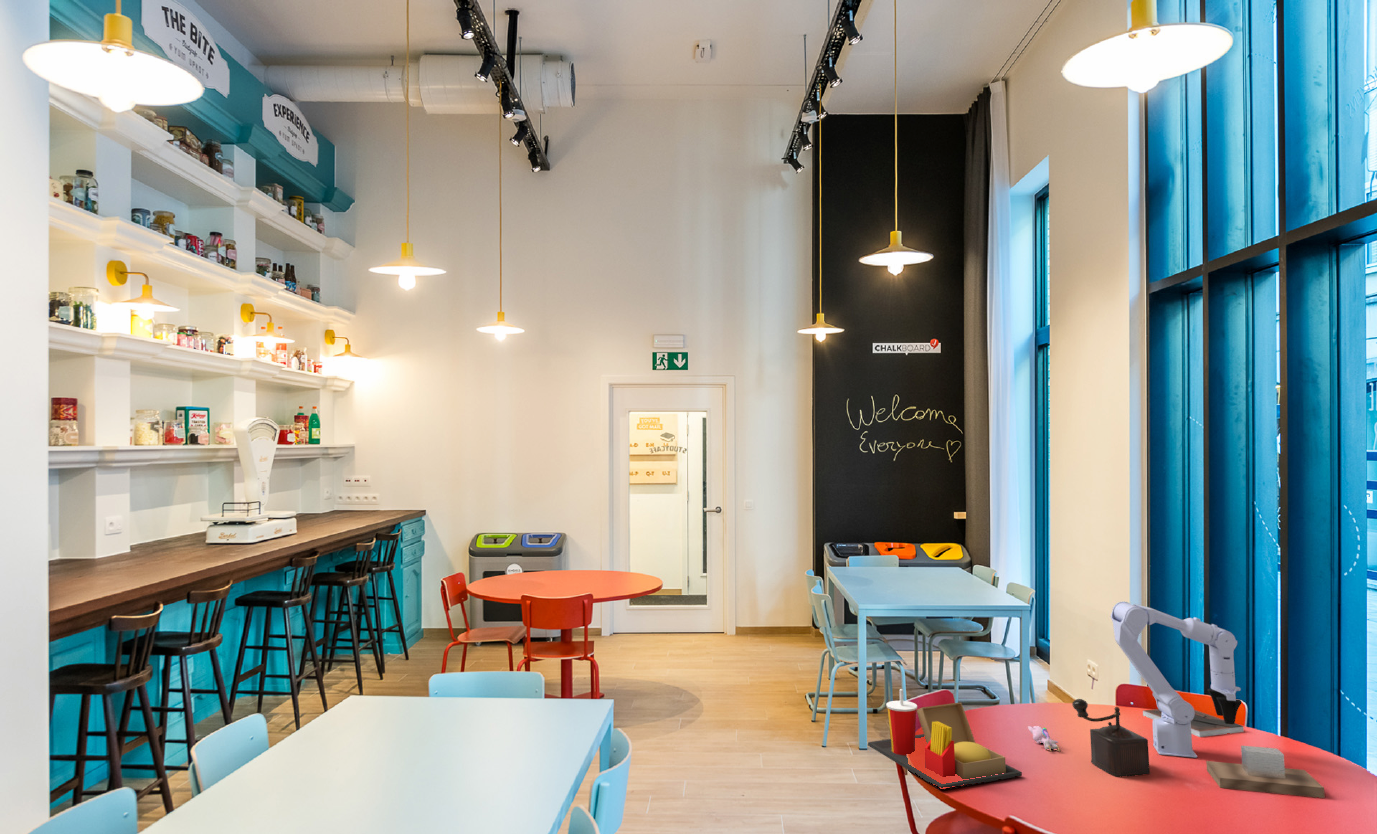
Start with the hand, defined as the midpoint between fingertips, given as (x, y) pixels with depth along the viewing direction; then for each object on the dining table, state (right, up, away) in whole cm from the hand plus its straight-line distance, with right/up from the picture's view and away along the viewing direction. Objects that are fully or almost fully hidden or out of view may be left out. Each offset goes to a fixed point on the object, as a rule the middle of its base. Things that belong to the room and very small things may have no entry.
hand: (1225, 719), depth 224 cm
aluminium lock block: (-5, -6, -22) cm, 23 cm away
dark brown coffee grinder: (-38, -10, -10) cm, 41 cm away
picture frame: (+7, -12, +25) cm, 29 cm away
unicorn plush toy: (-48, -11, +10) cm, 50 cm away
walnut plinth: (-5, -8, -22) cm, 24 cm away
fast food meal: (-82, -12, -3) cm, 83 cm away
